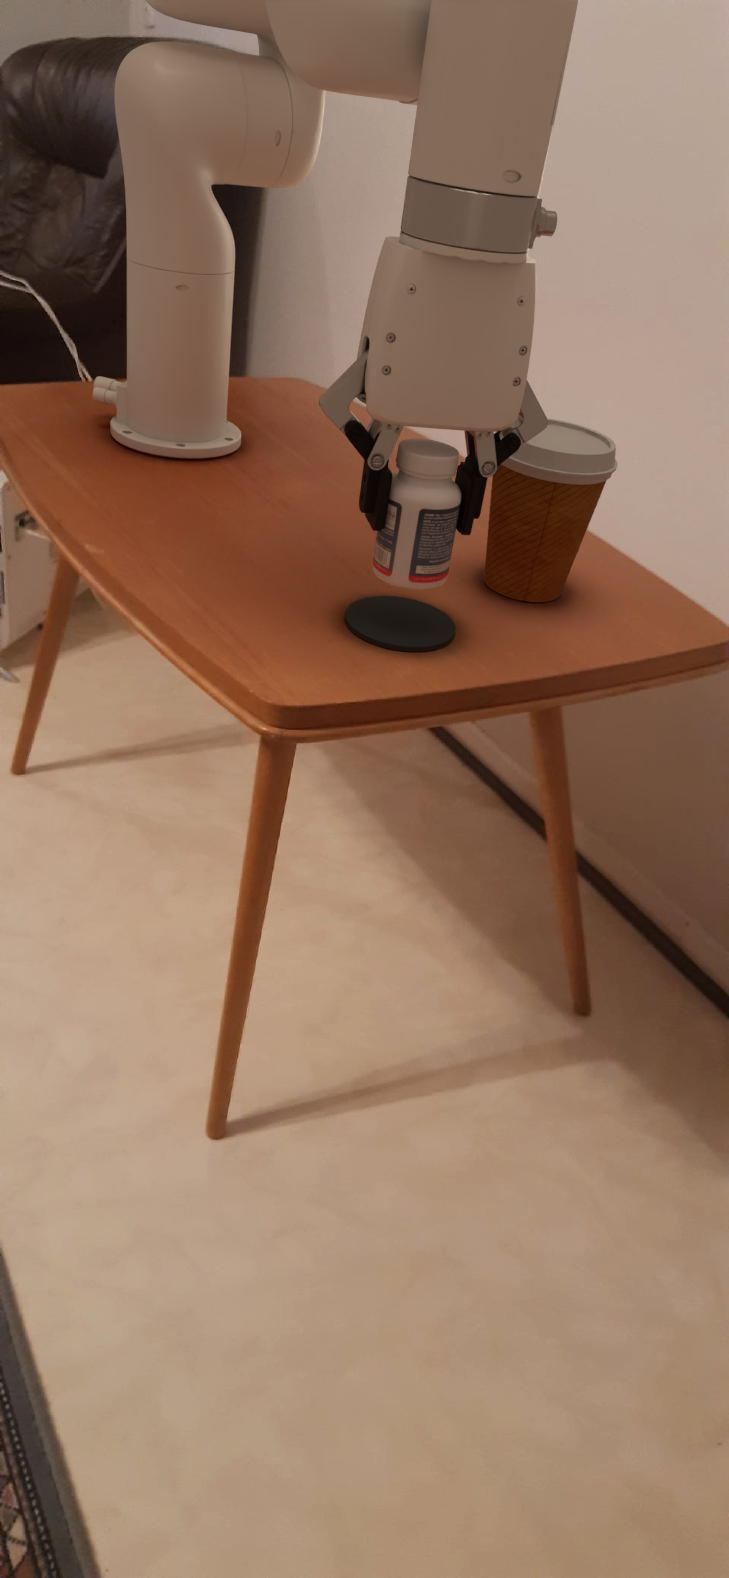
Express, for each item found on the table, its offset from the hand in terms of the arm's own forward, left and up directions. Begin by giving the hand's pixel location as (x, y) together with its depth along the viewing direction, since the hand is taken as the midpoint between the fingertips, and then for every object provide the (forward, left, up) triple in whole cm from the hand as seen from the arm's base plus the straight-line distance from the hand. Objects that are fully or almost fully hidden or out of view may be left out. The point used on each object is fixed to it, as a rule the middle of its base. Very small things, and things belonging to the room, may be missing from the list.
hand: (417, 522), depth 69 cm
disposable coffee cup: (+7, +13, -8) cm, 16 cm away
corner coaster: (0, 0, -8) cm, 8 cm away
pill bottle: (0, 0, -4) cm, 4 cm away
